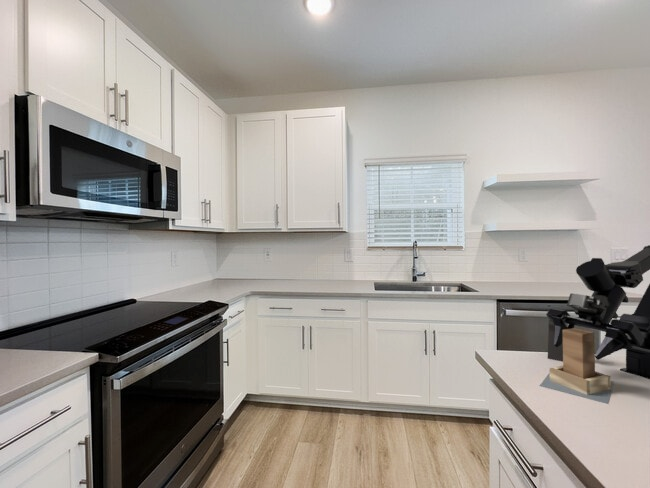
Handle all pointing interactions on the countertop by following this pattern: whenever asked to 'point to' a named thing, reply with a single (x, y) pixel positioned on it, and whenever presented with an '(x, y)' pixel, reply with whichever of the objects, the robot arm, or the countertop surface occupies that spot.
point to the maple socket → (581, 381)
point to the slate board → (597, 396)
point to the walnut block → (579, 353)
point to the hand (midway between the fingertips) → (574, 352)
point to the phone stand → (552, 350)
